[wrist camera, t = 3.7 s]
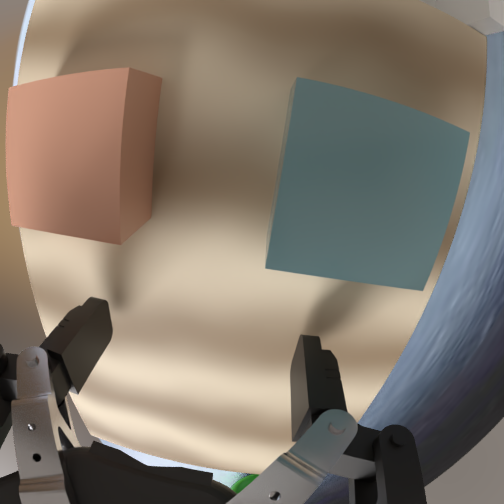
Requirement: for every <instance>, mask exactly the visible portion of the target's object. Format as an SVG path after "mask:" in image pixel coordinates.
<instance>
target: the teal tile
mask: <svg viewBox="0 0 504 504" xmlns="http://www.w3.org/2000/svg"><path fill="white" fill-rule="evenodd" d="M469 136H470V132H468V131H466V130H464V129H462V128H459V127H457V126H455V125H453V124H450V123H448V122H446V121H444V120H441V119H439V118H436V117H434V116H432V115H429V114H427V113H424V112H421V111H419V110H416V109H413V108H411V107H408V106H405V105H402V104H399V103H396V102H393V101H390V100H387V99H384V98H381V97H378V96H374V95H371V94H368V93H364V92H361V91H357V90H353V89H349V88H345V87H341V86H337V85H333V84H329V83H324V82H320V81H315V80H310V79H305V78H300V77H297V78H296V80H295V81H294V83H293V85H292V87H291V89H290V96H289V102H288V109H287V115H286V121H285V128H284V134H283V140H282V146H281V152H280V159H279V165H278V171H277V177H276V183H275V189H274V195H273V201H272V207H271V213H270V219H269V225H268V231H267V240H266V258H265V269H271V270H278V271H284V272H291V273H298V274H304V275H311V276H318V277H325V278H332V279H339V280H346V281H353V282H360V283H367V284H374V285H381V286H389V287H396V288H403V289H411V290H418V291H423V290H424V288H425V285H426V283H427V281H428V278H429V276H430V273H431V271H432V268H433V266H434V263H435V260H436V258H437V255H438V252H439V249H440V247H441V244H442V241H443V238H444V235H445V232H446V229H447V226H448V223H449V220H450V216H451V213H452V210H453V206H454V203H455V199H456V195H457V192H458V188H459V184H460V180H461V176H462V171H463V167H464V162H465V158H466V153H467V147H468V142H469Z"/></svg>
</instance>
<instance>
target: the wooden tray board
mask: <svg viewBox="0 0 504 504" xmlns="http://www.w3.org/2000/svg"><path fill="white" fill-rule="evenodd" d="M127 67H130V68H133V69H136V70H140V71H143V72H146V73H149V74H152V75H155V76H158V77H161V78H162V85H161V92H160V100H159V109H158V118H157V128H156V139H155V151H154V166H153V184H152V213H151V219H149V220H148V221H147V222H146V223H145V224H144V225H143V226H141V227H140V228H139V229H138V230H137V231H136V232H135V233H134V234H133V235H131V236H130V237H129V238H128V239H127V240H126V241H125V242H124V243H123V244H122V245H117V244H111V243H105V242H99V241H94V240H88V239H82V238H77V237H71V236H65V235H60V234H54V233H49V232H43V231H38V230H33V229H27V228H22V227H20V233H21V239H22V245H23V250H24V256H25V261H26V265H27V270H28V274H29V279H30V283H31V287H32V291H33V294H34V298H35V302H36V305H37V309H38V312H39V316H40V319H41V322H42V325H43V328H44V331H45V334H46V337H48V336H49V334H50V333H51V332H52V331H53V330H54V328H55V327H56V326H58V324H59V322H60V321H61V320H63V318H64V317H65V315H66V314H67V313H68V312H69V311H70V310H72V309H73V308H75V307H77V306H79V305H80V306H82V305H83V304H84V303H85V302H86V300H87V299H88V298H89V297H95V298H100V299H104V300H107V302H108V304H109V310H110V316H111V321H112V327H113V335H112V339H111V341H110V343H109V344H108V346H107V348H106V349H105V351H104V352H103V354H102V356H101V357H100V359H99V361H98V362H97V364H96V365H95V367H94V369H93V370H92V372H91V374H90V375H89V377H88V379H87V381H86V382H85V384H84V386H83V387H82V389H81V391H80V393H79V394H78V395H77V394H74V393H72V392H70V391H69V393H70V396H71V398H72V400H73V402H74V404H75V406H76V408H77V410H78V412H79V414H80V416H81V418H82V420H83V421H84V423H85V425H86V426H87V429H88V431H89V432H90V434H91V435H93V436H95V437H98V438H101V439H103V440H106V441H109V442H111V443H114V444H117V445H120V446H123V447H126V448H129V449H132V450H136V451H139V452H142V453H146V454H149V455H153V456H157V457H160V458H164V459H168V460H173V461H177V462H181V463H186V464H191V465H196V466H201V467H207V468H212V469H219V470H225V471H233V472H241V473H250V474H261V473H262V472H263V471H264V470H265V469H266V468H267V467H268V466H270V465H271V464H272V463H273V462H274V461H275V460H276V459H277V458H278V457H279V456H280V455H281V454H283V453H286V452H287V451H288V450H289V449H290V448H291V447H292V446H293V445H294V444H295V443H296V442H292V431H291V390H290V369H291V363H292V359H293V356H294V353H295V349H296V346H297V343H298V340H299V337H300V335H301V334H302V335H311V336H319V337H320V341H321V347H322V349H324V350H331V352H332V353H333V354H334V356H335V357H336V359H337V361H338V366H339V372H340V376H341V381H342V386H343V391H344V396H345V401H346V407H347V411H348V413H349V414H351V415H352V416H353V417H354V418H355V420H356V422H358V421H359V420H360V418H361V417H362V415H363V414H364V413H365V411H366V410H367V408H368V407H369V405H370V404H371V402H372V401H373V399H374V398H375V396H376V395H377V393H378V392H379V390H380V389H381V387H382V386H383V384H384V382H385V381H386V379H387V378H388V376H389V374H390V373H391V371H392V369H393V368H394V366H395V364H396V363H397V361H398V359H399V357H400V356H401V354H402V352H403V350H404V348H405V347H406V345H407V343H408V341H409V339H410V337H411V335H412V333H413V331H414V329H415V328H416V326H417V324H418V322H419V320H420V317H421V315H422V313H423V311H424V309H425V307H426V305H427V303H428V301H429V298H430V296H431V294H432V292H433V289H434V287H435V285H436V282H437V280H438V278H439V275H440V273H441V270H442V268H443V265H444V262H445V260H446V257H447V255H448V252H449V249H450V246H451V244H452V241H453V238H454V235H455V232H456V229H457V226H458V223H459V219H460V216H461V213H462V209H463V206H464V203H465V199H466V195H467V192H468V188H469V184H470V180H471V175H472V171H473V167H474V162H475V157H476V152H477V147H478V141H479V135H480V129H481V122H482V115H483V107H484V97H485V85H486V67H487V37H486V36H484V35H483V34H481V33H480V32H478V31H476V30H475V29H473V28H471V27H470V26H468V25H466V24H465V23H463V22H461V21H459V20H458V19H456V18H454V17H452V16H450V15H448V14H446V13H444V12H443V11H441V10H439V9H437V8H434V7H432V6H430V5H428V4H426V3H424V2H422V1H419V0H35V3H34V6H33V10H32V13H31V17H30V21H29V25H28V29H27V33H26V37H25V42H24V47H23V52H22V57H21V63H20V70H19V77H18V84H17V85H21V84H25V83H29V82H33V81H37V80H42V79H47V78H52V77H57V76H62V75H68V74H74V73H81V72H88V71H96V70H104V69H115V68H127ZM297 77H300V78H305V79H310V80H315V81H320V82H324V83H329V84H333V85H337V86H341V87H345V88H349V89H353V90H357V91H361V92H364V93H368V94H371V95H374V96H378V97H381V98H384V99H387V100H390V101H393V102H396V103H399V104H402V105H405V106H408V107H411V108H413V109H416V110H419V111H421V112H424V113H427V114H429V115H432V116H434V117H436V118H439V119H441V120H444V121H446V122H448V123H450V124H453V125H455V126H457V127H459V128H462V129H464V130H466V131H468V132H470V136H469V142H468V147H467V153H466V158H465V162H464V167H463V171H462V176H461V180H460V184H459V188H458V192H457V195H456V199H455V203H454V206H453V210H452V213H451V216H450V220H449V223H448V226H447V229H446V232H445V235H444V238H443V241H442V244H441V247H440V249H439V252H438V255H437V258H436V260H435V263H434V266H433V268H432V271H431V273H430V276H429V278H428V281H427V283H426V285H425V288H424V290H423V291H418V290H411V289H403V288H396V287H389V286H381V285H374V284H367V283H360V282H353V281H346V280H339V279H332V278H325V277H318V276H311V275H304V274H298V273H291V272H284V271H278V270H271V269H265V258H266V240H267V231H268V225H269V219H270V213H271V207H272V201H273V195H274V189H275V183H276V177H277V171H278V165H279V159H280V152H281V146H282V140H283V134H284V128H285V121H286V115H287V109H288V102H289V96H290V89H291V87H292V85H293V83H294V81H295V80H296V78H297Z"/></svg>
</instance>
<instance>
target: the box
mask: <svg viewBox="0 0 504 504" xmlns="http://www.w3.org/2000/svg"><path fill="white" fill-rule="evenodd" d="M419 1H422V2H424V3H426V4H428V5H430V6H432V7H434V8H437V9H439V10H441V11H443V12H444V13H446V14H448V15H450V16H452V17H454V18H456V19H458V20H459V21H461V22H463V23H465V24H466V25H468V26H470V27H471V28H473V29H475V30H476V31H478V32H480V33H481V34H483V35H484V36H486V35H490V34H494V33H498V32H502V31H504V0H419Z"/></svg>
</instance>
